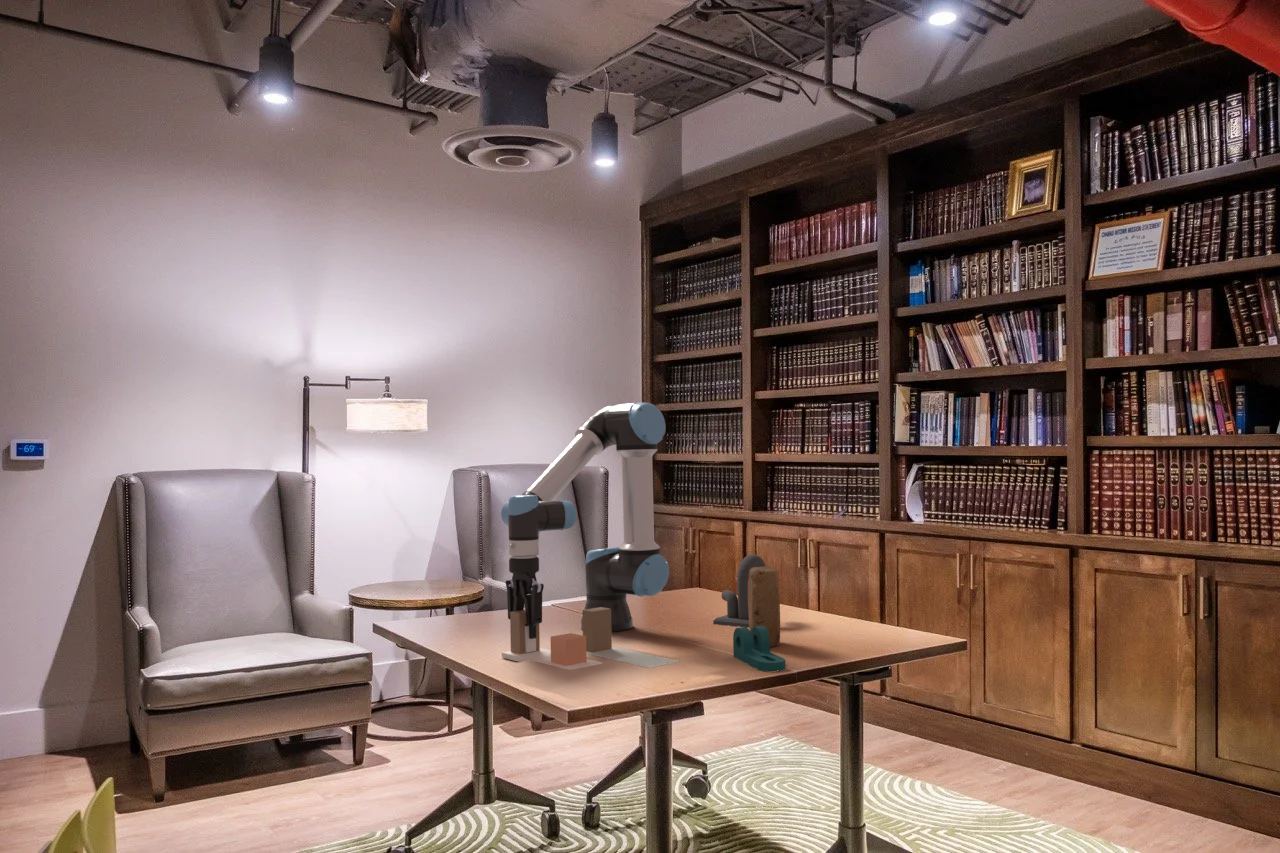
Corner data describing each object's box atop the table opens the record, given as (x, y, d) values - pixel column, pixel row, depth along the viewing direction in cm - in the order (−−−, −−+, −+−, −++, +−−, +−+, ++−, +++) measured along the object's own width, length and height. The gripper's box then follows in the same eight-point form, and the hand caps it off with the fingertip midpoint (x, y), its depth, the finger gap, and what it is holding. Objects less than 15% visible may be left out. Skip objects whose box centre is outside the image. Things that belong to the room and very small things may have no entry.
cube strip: (501, 657, 240) (501, 612, 240) (534, 651, 247) (534, 607, 247) (569, 675, 219) (569, 625, 219) (603, 668, 226) (603, 620, 226)
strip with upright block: (574, 655, 241) (573, 610, 241) (605, 649, 247) (604, 605, 248) (649, 673, 220) (648, 623, 220) (680, 666, 226) (679, 618, 227)
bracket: (733, 657, 236) (732, 625, 237) (758, 655, 238) (758, 623, 239) (763, 673, 219) (762, 638, 219) (790, 671, 221) (789, 636, 221)
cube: (550, 662, 228) (550, 636, 228) (571, 658, 232) (570, 633, 232) (566, 665, 223) (565, 639, 224) (586, 661, 227) (586, 636, 228)
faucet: (791, 621, 286) (790, 553, 286) (767, 629, 273) (766, 558, 273) (737, 616, 296) (736, 551, 296) (712, 624, 283) (710, 555, 283)
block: (782, 647, 246) (780, 569, 247) (753, 648, 246) (751, 570, 247) (774, 639, 257) (773, 564, 258) (746, 640, 257) (745, 565, 258)
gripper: (492, 555, 246) (493, 647, 245) (531, 560, 233) (532, 657, 232) (516, 553, 251) (518, 643, 250) (556, 557, 238) (557, 652, 237)
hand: (525, 650), depth 241 cm, fingers closed on cube strip, 4 cm apart
